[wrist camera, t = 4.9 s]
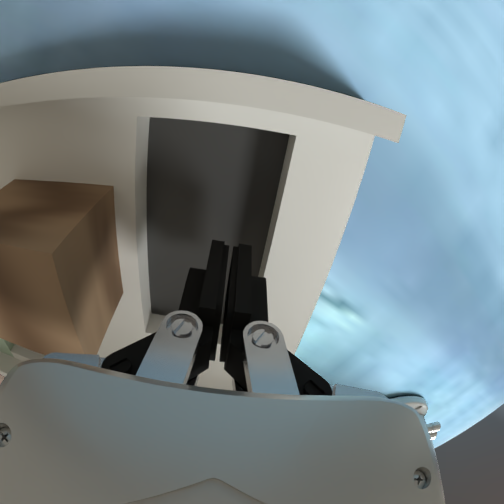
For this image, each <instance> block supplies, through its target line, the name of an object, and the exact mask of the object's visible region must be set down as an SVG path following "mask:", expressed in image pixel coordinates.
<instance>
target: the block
mask: <svg viewBox="0 0 504 504" xmlns="http://www.w3.org/2000/svg"><path fill="white" fill-rule="evenodd" d="M122 295H123V286H122V279H121V271H120V263H119V254H118V244H117V233H116V221H115V205H114V186H109V185H97V184H85V183H72V182H57V181H40V180H19V179H14V180H13V181H11V182H10V183H8V184H7V185H6V186H4V187H3V188H2V189H0V338H1V339H4V340H6V341H9V342H11V343H13V344H16V345H19V346H21V347H24V348H26V349H29V350H32V351H34V352H37V353H40V354H43V355H47V354H50V353H55V352H57V353H72V354H93V355H97V353H98V351H99V348H100V346H101V343H102V341H103V338H104V336H105V333H106V331H107V329H108V326H109V324H110V322H111V319H112V317H113V315H114V313H115V310H116V308H117V306H118V304H119V301H120V299H121V297H122Z"/></svg>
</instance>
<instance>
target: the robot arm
mask: <svg viewBox="0 0 504 504" xmlns="http://www.w3.org/2000/svg"><path fill="white" fill-rule="evenodd" d="M224 244H225V241H218V240H212V243H211V248H210V253H209V258H208V262H207V267H206V270H205V269H198V268H191V267H190V269H189V272H188V275H187V279H186V283H185V287H184V291H183V294H182V298H181V302H180V306H179V310H178V311H174V312H171V313H169V314H168V315H166V316H165V317H164V319H163V320H162V322H161V324H160V326H159V328H158V330H157V332H155V333H153V334H151V335H149V336H147V337H145V338H143V339H141V340H138V341H136V342H134V343H132V344H130V345H128V346H126V347H124V348H122V349H120V350H118V351H116V352H113V353H111V354H110V355H108V356H107V357H106V358H103V357H100V356H99V355H93V354H72V353H57V352H55V353H50V354H47V355H45V357H44V358H41V359H31V360H26V361H23V362H20V363H18V364H17V365H15V366H14V367H13V368H12V369H11V370H10V371H9V372H8V374H7V375H6V377H5V378H4V380H3V381H2V383H1V385H0V504H445V499H444V493H443V487H442V482H441V476H440V471H439V467H438V462H437V459H436V454H435V451H434V447H433V443H432V440H434V439H435V438H436V435H437V431H439V430H440V427H441V426H440V423H439V422H434V423H430V424H426V422H425V419H424V416H425V415H426V413H427V410H428V406H427V403H426V401H425V399H423V398H422V397H418V396H403V397H396V398H391V399H388V398H387V397H386V396H385V395H384V394H382V393H379V392H376V391H370V390H365V389H359V388H354V387H349V386H344V385H339V384H336V385H335V386H332V385H329V383H328V382H327V381H326V380H325V379H323V378H322V377H321V376H320V375H318V374H317V373H316V372H315V371H313V370H312V369H311V368H310V367H308V366H307V365H306V364H305V363H303V362H302V361H301V360H300V359H298V358H297V357H296V356H295V355H293V354H292V353H291V352H290V351H288V350H287V347H286V344H285V340H284V336H283V334H282V332H281V330H280V329H279V328H278V327H277V326H275V325H274V324H272V323H269V322H268V304H267V285H266V278H264V277H256V276H252V245H246V244H239V245H238V247H236V246H233V252H232V258H231V264H230V271H229V277H228V283H227V290H226V297H225V306H224V316H223V326H222V337H221V348H220V359H219V362H224V370H225V371H226V372H227V373H228V374H229V375H230V376H231V377H232V386H233V390H223V389H215V388H207V387H199V386H196V385H197V382H198V379H199V374H200V373H202V372H204V371H205V370H207V369H209V361H210V360H211V361H215V357H216V350H217V343H218V336H219V329H220V322H221V315H222V307H223V298H224V289H225V280H226V271H227V262H228V254H229V245H224Z"/></svg>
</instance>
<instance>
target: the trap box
mask: <svg viewBox="0 0 504 504" xmlns="http://www.w3.org/2000/svg"><path fill="white" fill-rule="evenodd" d="M405 118H406V115H404V114H402V113H399V112H397V111H394V110H391V109H388V108H386V107H383V106H380V105H377V104H374V103H371V102H368V101H365V100H362V99H359V98H355V97H352V96H349V95H345V94H342V93H338V92H334V91H331V90H327V89H323V88H319V87H315V86H311V85H306V84H302V83H297V82H293V81H288V80H283V79H278V78H272V77H266V76H261V75H254V74H248V73H240V72H233V71H224V70H215V69H204V68H191V67H171V66H119V67H101V68H88V69H78V70H69V71H61V72H54V73H47V74H41V75H35V76H30V77H25V78H20V79H15V80H11V81H7V82H2V83H0V189H2V188H3V187H4V186H6V185H7V184H8V183H10V182H11V181H13V180H14V179H19V180H40V181H57V182H72V183H85V184H97V185H109V186H114V205H115V221H116V233H117V244H118V254H119V263H120V271H121V279H122V286H123V295H122V297H121V299H120V301H119V304H118V306H117V308H116V310H115V313H114V315H113V317H112V319H111V322H110V324H109V326H108V329H107V331H106V333H105V336H104V338H103V341H102V343H101V346H100V348H99V351H98V353H97V355H99V356H100V357H103V358H106V357H107V356H108V355H110V354H111V353H113V352H116V351H118V350H120V349H122V348H124V347H126V346H128V345H130V344H132V343H134V342H136V341H138V340H141V339H143V338H145V337H147V336H149V335H151V334H153V333H155V332H157V330H158V328H159V326H160V324H161V322H162V320H163V319H164V317H165V316H166V315H168V314H169V313H171V312H174V311H178V310H179V306H180V302H181V298H182V294H183V291H184V287H185V283H186V279H187V275H188V272H189V269H190V267H191V268H198V269H205V270H206V267H207V262H208V258H209V253H210V248H211V243H212V240H218V241H225V244H224V245H229V254H228V262H227V271H226V280H225V289H224V298H223V307H222V315H221V322H220V329H219V336H218V343H217V350H216V357H215V361H211V360H210V361H209V369H207V370H205V371H204V372H202V373H200V374H199V379H198V382H197V385H196V386H199V387H207V388H215V389H223V390H233V386H232V377H231V376H230V375H229V374H228V373H227V372H226V371H225V370H224V362H219V359H220V348H221V337H222V326H223V316H224V306H225V297H226V290H227V283H228V277H229V271H230V264H231V258H232V252H233V246H236V247H238V245H239V244H246V245H252V276H256V277H264V278H266V285H267V304H268V322H269V323H272V324H274V325H275V326H277V327H278V328H279V329H280V330H281V332H282V334H283V336H284V340H285V344H286V347H287V350H288V351H290V352H291V353H292V354H293V355H294V354H295V352H296V349H297V347H298V345H299V343H300V341H301V338H302V336H303V334H304V331H305V329H306V327H307V325H308V322H309V320H310V318H311V315H312V313H313V310H314V308H315V306H316V303H317V301H318V298H319V296H320V294H321V291H322V289H323V286H324V284H325V281H326V279H327V276H328V273H329V271H330V268H331V266H332V263H333V260H334V258H335V255H336V252H337V250H338V247H339V244H340V242H341V239H342V236H343V233H344V231H345V228H346V225H347V222H348V219H349V216H350V213H351V210H352V208H353V205H354V202H355V199H356V196H357V192H358V189H359V186H360V183H361V180H362V177H363V174H364V170H365V167H366V164H367V161H368V157H369V154H370V151H371V147H372V144H373V140H374V137H375V136H378V137H382V138H385V139H388V140H391V141H394V142H397V143H399V139H400V136H401V132H402V129H403V125H404V122H405ZM44 357H45V355H43V354H40V353H37V352H34V351H32V350H29V349H26V348H24V347H21V346H19V345H16V344H13V343H11V342H9V341H6V340H4V339H1V338H0V374H1V375H3V376H5V377H6V375H7V374H8V372H9V371H10V370H11V369H12V368H13V367H14V366H15V365H17V364H18V363H20V362H23V361H26V360H31V359H41V358H44Z"/></svg>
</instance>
